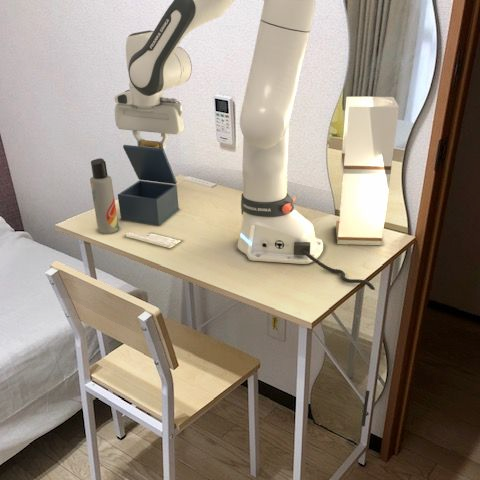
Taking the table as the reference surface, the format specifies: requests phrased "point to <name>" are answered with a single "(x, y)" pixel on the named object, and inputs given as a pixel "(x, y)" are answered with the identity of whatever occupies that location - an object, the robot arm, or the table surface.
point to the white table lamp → (366, 168)
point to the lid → (150, 162)
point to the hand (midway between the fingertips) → (151, 147)
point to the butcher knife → (154, 239)
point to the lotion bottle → (103, 197)
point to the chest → (148, 202)
